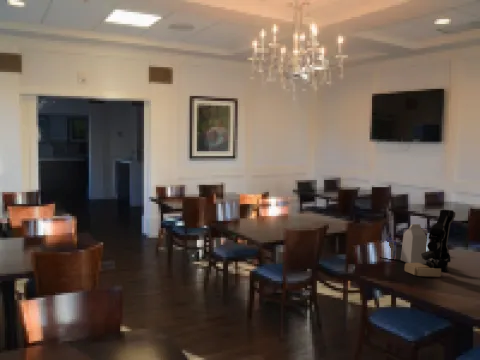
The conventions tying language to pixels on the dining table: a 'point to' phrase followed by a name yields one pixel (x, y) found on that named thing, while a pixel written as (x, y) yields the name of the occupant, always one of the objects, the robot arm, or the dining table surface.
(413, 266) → the carton
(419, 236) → the milk
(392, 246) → the ink cartridge box
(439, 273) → the flap
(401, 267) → the dining table surface
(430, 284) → the dining table surface
